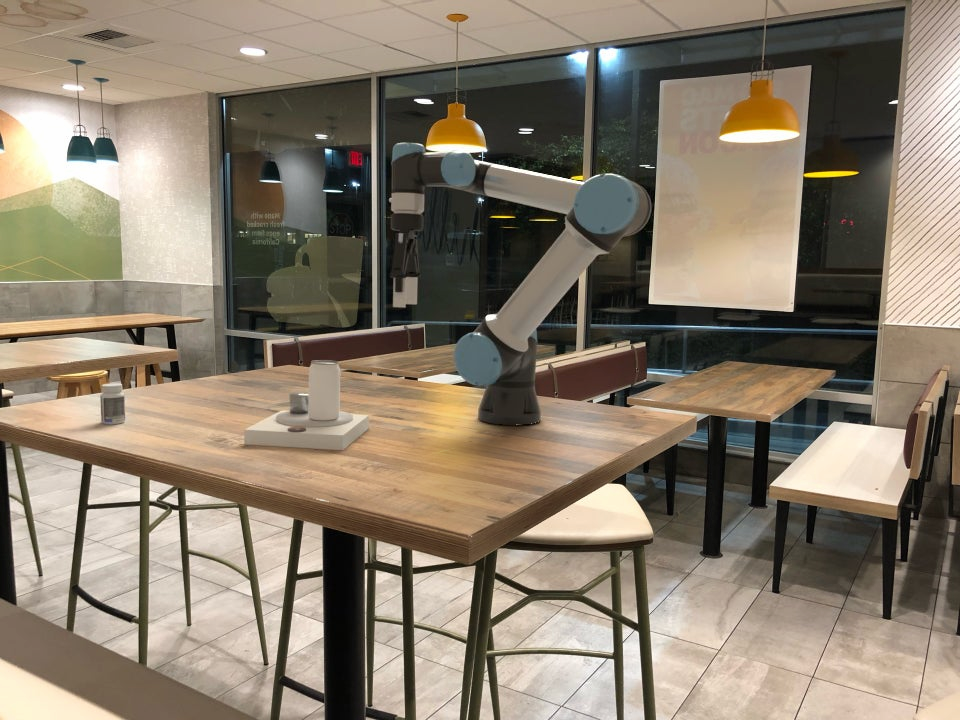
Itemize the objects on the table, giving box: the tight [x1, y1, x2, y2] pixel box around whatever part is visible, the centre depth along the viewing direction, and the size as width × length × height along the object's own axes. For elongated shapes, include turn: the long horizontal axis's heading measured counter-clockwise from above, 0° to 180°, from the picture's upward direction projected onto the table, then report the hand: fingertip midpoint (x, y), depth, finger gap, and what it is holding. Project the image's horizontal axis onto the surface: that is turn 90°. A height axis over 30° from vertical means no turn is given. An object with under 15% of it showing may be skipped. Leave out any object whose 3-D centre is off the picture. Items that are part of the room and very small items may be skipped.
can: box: [308, 359, 341, 421], centre depth 156 cm, size 6×6×12 cm
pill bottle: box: [99, 382, 126, 425], centre depth 162 cm, size 5×5×8 cm
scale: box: [243, 410, 370, 451], centre depth 157 cm, size 20×21×4 cm
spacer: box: [289, 391, 309, 414], centre depth 163 cm, size 4×4×4 cm
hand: (405, 305), depth 174 cm, fingers open, 13 cm apart
